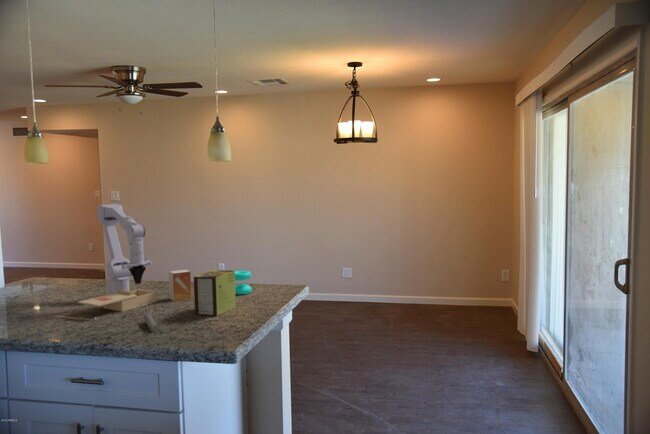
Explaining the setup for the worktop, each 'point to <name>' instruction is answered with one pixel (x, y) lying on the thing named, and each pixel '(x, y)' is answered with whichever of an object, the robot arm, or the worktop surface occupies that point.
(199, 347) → the worktop surface
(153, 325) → the kitchen whisk
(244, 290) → the donuts
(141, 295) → the wooden box
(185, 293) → the small box
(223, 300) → the protein box
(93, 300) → the lid
